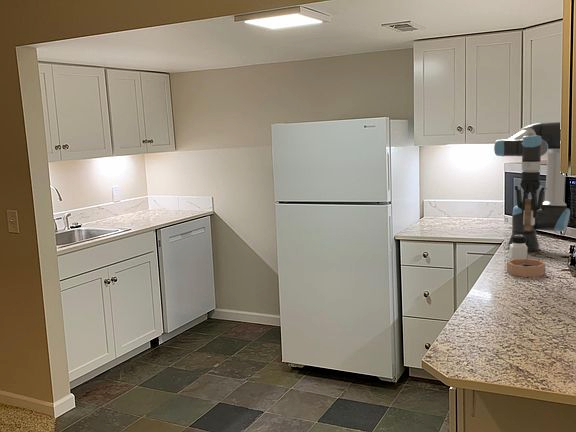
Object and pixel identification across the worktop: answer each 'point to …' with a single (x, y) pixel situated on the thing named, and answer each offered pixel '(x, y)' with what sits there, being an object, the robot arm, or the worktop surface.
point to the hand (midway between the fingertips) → (528, 224)
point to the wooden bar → (528, 215)
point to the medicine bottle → (518, 248)
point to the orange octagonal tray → (526, 267)
